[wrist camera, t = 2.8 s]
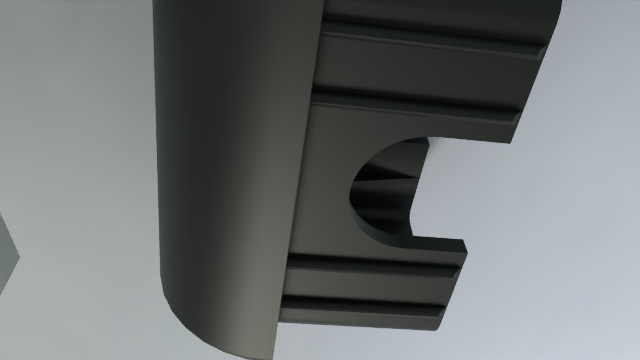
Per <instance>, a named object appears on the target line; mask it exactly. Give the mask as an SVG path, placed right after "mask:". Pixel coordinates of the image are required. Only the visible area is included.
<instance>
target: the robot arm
mask: <svg viewBox="0 0 640 360" xmlns="http://www.w3.org/2000/svg"><path fill="white" fill-rule="evenodd" d="M19 258H20V256H19V254H18V251H17V249H16V247H15V245H14V242H13V240H12V238H11V236H10V234H9V231H8V229H7V227H6V225H5V222H4V220H3V218H2V216H1V213H0V295H1V293H2V291H3V289H4V287H5V285H6V283H7V281H8V279H9V278H10V276H11V274H12V272H13V270H14V268H15V266H16V264H17V262H18V260H19Z"/></svg>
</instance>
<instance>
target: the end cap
mask: <svg viewBox="0 0 640 360" xmlns="http://www.w3.org/2000/svg"><path fill="white" fill-rule="evenodd" d="M561 5H562V0H153V33H154V68H155V103H156V137H157V172H158V207H159V241H160V276H161V281H162V287H163V292H164V296H165V298H166V300H167V302H168V304H169V306H170V308H171V310H172V312H173V313H174V314H175V315H176V317H177V318H178V319H179V320H180V321H181V323H182V324H183V325H184V326H185V327H186V328H187V329H188V330H189V331H191V332H192V333H193V334H194V335H196V336H197V337H198V338H200V339H201V340H202V341H203V342H205V343H207V344H209V345H211V346H213V347H215V348H217V349H219V350H221V351H223V352H225V353H229V354H232V355H235V356H239V357H242V358H245V359H250V360H272V359H273V352H274V345H275V338H276V331H277V325H278V322H283V323H301V324H320V325H338V326H356V327H374V328H392V329H410V330H429V331H436V330H437V329H438V328H439V326H440V324H441V321H442V318H443V316H444V313H445V311H446V308H447V306H448V303H449V300H450V298H451V295H452V293H453V290H454V287H455V285H456V282H457V280H458V277H459V275H460V272H461V269H462V267H463V264H464V262H465V259H466V257H467V254H468V252H467V249H466V246H465V244H464V241H463V240H462V239H448V238H435V237H421V236H413V233H412V229H411V226H410V219H409V217H410V210H411V206H412V203H413V199H414V196H415V192H416V189H417V185H418V182H419V179H420V175H421V172H422V168H423V165H424V162H425V158H426V155H427V151H428V148H429V142H428V139H427V137H445V138H456V139H466V140H477V141H487V142H498V143H508V144H510V143H511V141H512V138H513V135H514V133H515V130H516V128H517V125H518V123H519V120H520V117H521V115H522V112H523V110H524V107H525V105H526V102H527V99H528V97H529V94H530V92H531V89H532V86H533V84H534V81H535V79H536V76H537V74H538V71H539V68H540V66H541V63H542V61H543V58H544V56H545V53H546V50H547V48H548V45H549V43H550V40H551V38H552V35H553V32H554V30H555V27H556V25H557V21H558V18H559V15H560V11H561Z"/></svg>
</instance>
